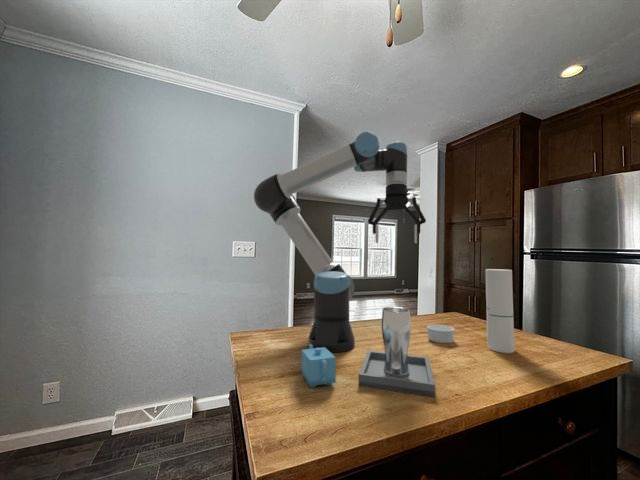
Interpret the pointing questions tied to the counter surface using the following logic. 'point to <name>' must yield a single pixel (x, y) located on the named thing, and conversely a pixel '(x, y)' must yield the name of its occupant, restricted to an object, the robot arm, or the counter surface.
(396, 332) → the beer glass
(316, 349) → the teapot
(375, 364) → the tray
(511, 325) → the cylindrical container
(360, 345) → the counter surface
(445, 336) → the ramekin
